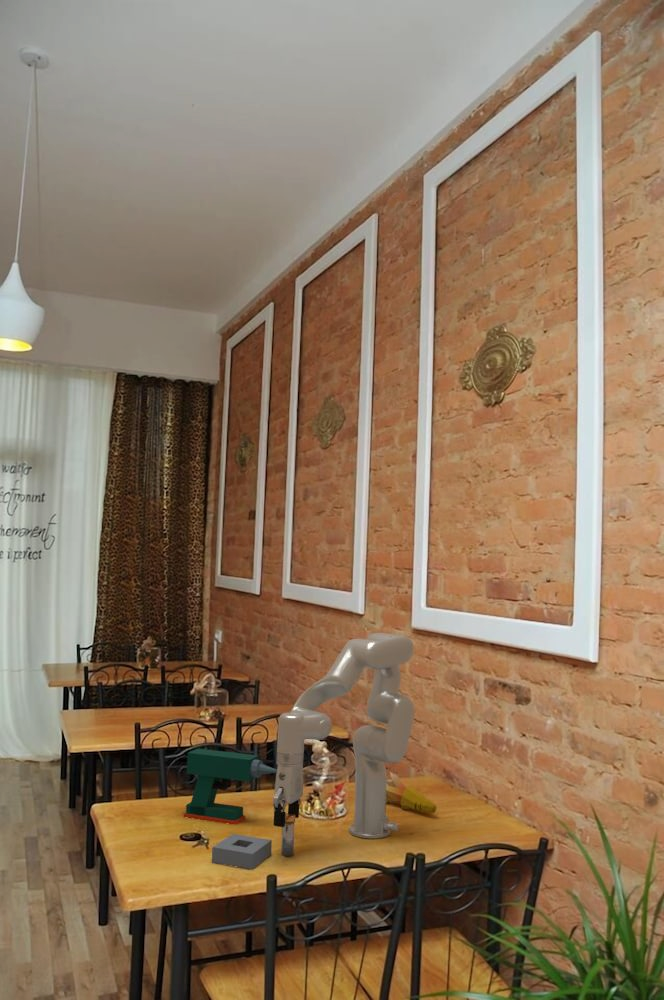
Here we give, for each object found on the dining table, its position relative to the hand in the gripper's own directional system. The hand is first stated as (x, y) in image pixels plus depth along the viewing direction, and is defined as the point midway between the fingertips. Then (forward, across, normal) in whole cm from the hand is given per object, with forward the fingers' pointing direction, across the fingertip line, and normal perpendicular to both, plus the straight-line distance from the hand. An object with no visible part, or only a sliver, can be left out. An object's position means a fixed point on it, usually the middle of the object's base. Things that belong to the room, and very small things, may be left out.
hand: (286, 821), depth 222 cm
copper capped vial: (+9, +1, 0) cm, 9 cm away
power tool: (+9, +21, +26) cm, 35 cm away
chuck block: (+9, -7, +10) cm, 15 cm away
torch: (+7, +57, -20) cm, 61 cm away
